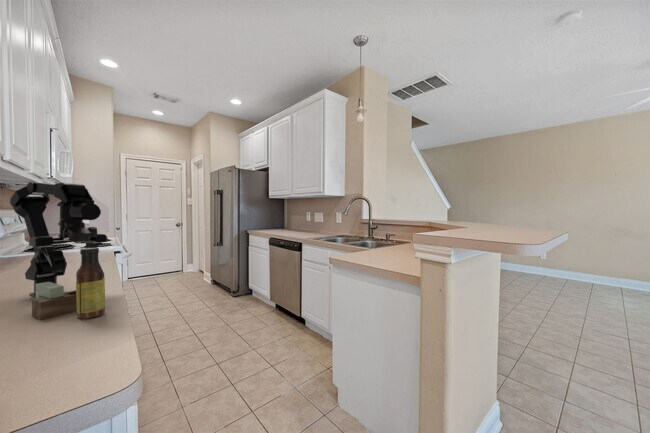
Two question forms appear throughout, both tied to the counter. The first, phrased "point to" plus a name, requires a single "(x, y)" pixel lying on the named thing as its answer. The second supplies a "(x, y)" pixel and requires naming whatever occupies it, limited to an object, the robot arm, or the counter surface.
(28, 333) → the counter surface
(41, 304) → the brown cubby organizer
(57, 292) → the green block
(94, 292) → the sauce bottle
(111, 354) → the counter surface
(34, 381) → the counter surface
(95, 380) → the counter surface
